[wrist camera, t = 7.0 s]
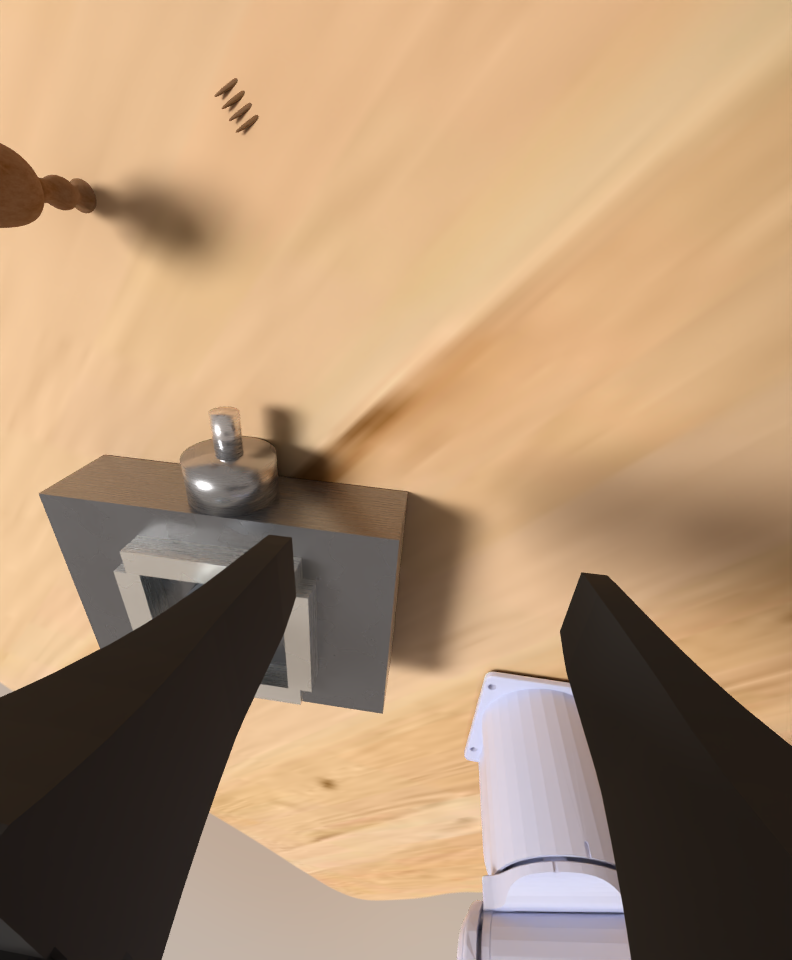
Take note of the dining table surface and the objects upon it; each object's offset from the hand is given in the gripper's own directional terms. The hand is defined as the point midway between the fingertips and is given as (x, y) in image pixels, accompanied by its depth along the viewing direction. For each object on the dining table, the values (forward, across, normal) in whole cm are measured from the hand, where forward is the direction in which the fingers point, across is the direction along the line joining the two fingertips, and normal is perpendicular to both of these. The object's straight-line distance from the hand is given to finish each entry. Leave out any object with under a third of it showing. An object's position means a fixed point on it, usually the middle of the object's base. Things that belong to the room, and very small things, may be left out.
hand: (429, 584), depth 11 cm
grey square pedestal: (+10, +9, +7) cm, 15 cm away
